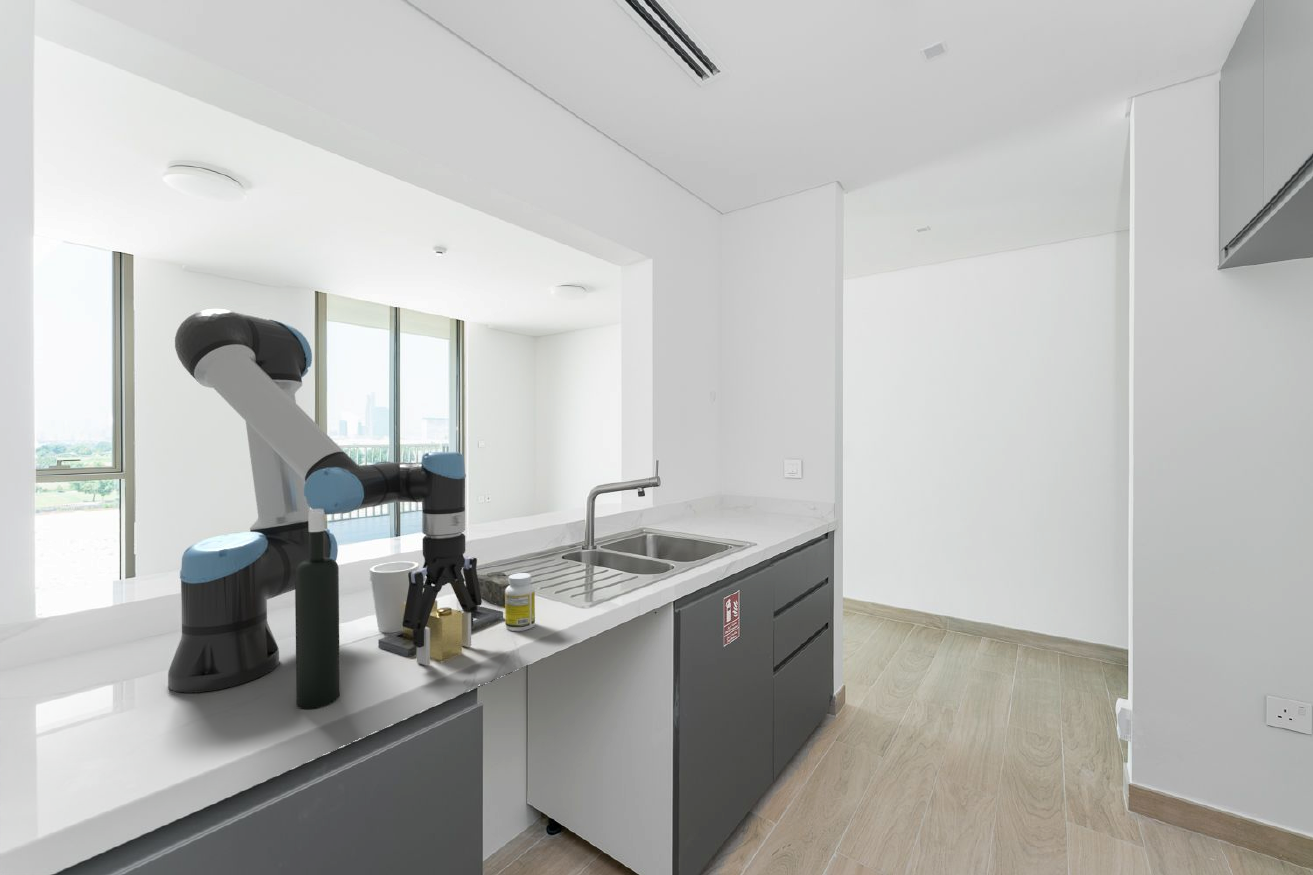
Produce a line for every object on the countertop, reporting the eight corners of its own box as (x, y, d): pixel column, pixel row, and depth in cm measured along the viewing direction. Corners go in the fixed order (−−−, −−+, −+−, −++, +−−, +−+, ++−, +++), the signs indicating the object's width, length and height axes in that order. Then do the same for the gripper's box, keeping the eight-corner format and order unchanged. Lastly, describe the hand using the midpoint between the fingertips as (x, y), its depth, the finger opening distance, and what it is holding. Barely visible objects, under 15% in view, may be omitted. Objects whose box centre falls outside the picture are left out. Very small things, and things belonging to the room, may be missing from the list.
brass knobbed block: (442, 661, 99) (442, 615, 99) (426, 656, 102) (425, 611, 101) (462, 653, 103) (462, 608, 103) (446, 648, 106) (445, 604, 105)
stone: (525, 613, 138) (532, 582, 134) (502, 626, 132) (508, 594, 128) (491, 582, 144) (496, 552, 140) (468, 593, 138) (473, 562, 134)
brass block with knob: (417, 647, 106) (417, 603, 106) (403, 643, 108) (403, 600, 108) (437, 639, 110) (437, 597, 110) (422, 635, 112) (422, 594, 112)
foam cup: (364, 626, 117) (363, 566, 117) (408, 616, 123) (408, 559, 123) (379, 638, 110) (379, 574, 110) (425, 627, 117) (425, 566, 117)
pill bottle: (520, 619, 122) (520, 570, 121) (540, 624, 118) (540, 574, 118) (498, 628, 116) (498, 576, 116) (520, 634, 113) (520, 581, 113)
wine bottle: (309, 691, 88) (307, 506, 87) (346, 690, 88) (345, 506, 88) (288, 710, 82) (286, 512, 82) (327, 708, 83) (325, 511, 82)
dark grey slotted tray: (408, 656, 101) (408, 648, 101) (378, 647, 106) (378, 639, 106) (503, 618, 122) (503, 611, 122) (475, 611, 127) (475, 605, 127)
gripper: (406, 546, 91) (406, 681, 91) (501, 527, 110) (501, 638, 110) (378, 542, 95) (379, 671, 95) (474, 523, 113) (475, 631, 114)
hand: (444, 653), depth 102 cm, fingers open, 9 cm apart
